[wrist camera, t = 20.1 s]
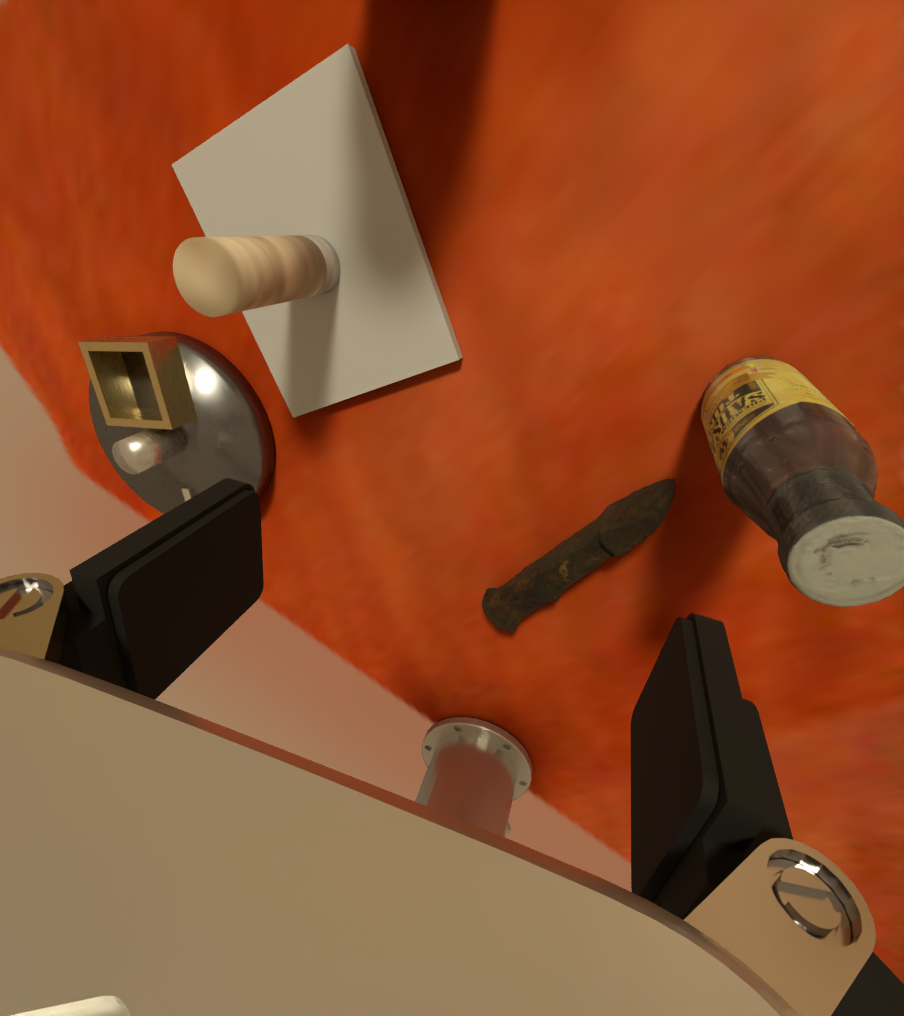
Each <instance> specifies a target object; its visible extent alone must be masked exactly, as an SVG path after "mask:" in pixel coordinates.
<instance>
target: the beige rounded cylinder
mask: <svg viewBox="0 0 904 1016" xmlns="http://www.w3.org/2000/svg"><path fill="white" fill-rule="evenodd" d="M173 273H174V278H175V282H176V285H177V287H178V290H179V291H180V293H181V295H182V297H183V298H184V300H185V301H186V302H187V303H188V304H189V305H190V306H191V307H192V308H193V309H194V310H195V311H197V312H198V313H200V314H202V315H205V316H209V317H218V316H223V315H227V314H232V313H237V312H242V311H246V310H251V309H256V308H260V307H265V306H270V305H275V304H279V303H284V302H289V301H293V300H298V299H303V298H307V297H312V296H317V295H322V294H326V293H328V292H330V291H331V290H332V289H333V288H334V287H335V286H336V284H337V283H338V280H339V277H340V261H339V258H338V255H337V253H336V251H335V249H334V248H333V246H332V245H331V244H330V243H329V242H328V241H327V240H326V239H324V238H322V237H320V236H316V235H289V236H240V237H194V238H189V239H187V240H185V241H183V242H182V243H181V244H180V245H179V247H178V248H177V250H176V252H175V255H174V260H173Z"/></svg>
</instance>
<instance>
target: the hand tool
mask: <svg viewBox="0 0 904 1016" xmlns="http://www.w3.org/2000/svg"><path fill="white" fill-rule="evenodd" d="M674 493H675V482H674V479H666V480H662V481H659V482H656V483H653V484H651V485H649V486H646V487H644V488H642V489H640V490H637V491H635V492H633V493H631V494H630V495H629V496H627V497H625V498H623V499H621V500H619V501H617V502H615V503H613V504H611V505H609V506H608V507H607V508H606V509H605V510H604V512H603V513H602V514H601V515H600V516H599V517H598V518H597V519H596V520H594V521H593V522H591V523H590V524H589V525H587V526H586V527H584V528H583V529H581V530H580V531H578V532H577V533H575V534H574V535H572V536H571V537H570V538H568V539H567V540H564V541H563V542H561V543H560V544H558V545H557V546H556V547H555V548H554V549H553V550H552V551H550V552H549V553H547V554H546V555H544V556H543V557H541V558H540V559H538V560H536V561H535V562H534V563H532V564H530V565H529V566H527V567H526V568H524V569H523V570H522V571H521V572H520V573H519V574H517V575H516V576H515V577H514V578H512V579H511V580H510V581H508V582H507V583H506V584H504V585H503V586H501V587H500V588H498V589H496V588H489V589H486V593H485V594H484V597H483V600H482V607H483V610H484V613H485V614H486V615H487V617H488V618H489V619H490V620H491V621H492V622H493V623H494V625H495V627H497V628H499V629H502V630H505V631H508V632H510V633H513V632H514V631H515V630H516V628H517V626H518V625H519V623H520V621H521V620H522V619H523V618H524V617H526V616H527V615H529V614H530V613H532V612H533V611H534V610H536V609H537V608H539V607H540V606H542V605H545V604H548V603H549V602H551V601H557V600H558V599H559V598H560V596H561V594H562V592H563V591H564V590H565V589H567V588H568V587H569V586H571V585H572V584H574V583H575V582H577V581H578V580H580V579H581V578H583V577H584V576H585V575H587V574H588V573H590V572H591V571H593V570H594V569H595V568H597V567H598V566H599V565H601V564H602V563H603V562H605V561H606V560H608V559H609V558H611V557H612V556H614V555H615V556H617V557H620V556H622V555H624V554H625V553H626V552H628V551H630V550H631V549H632V548H633V547H634V546H635V545H636V544H638V543H640V542H643V541H644V540H645V539H646V538H647V537H648V536H650V535H651V534H652V533H653V532H654V531H655V530H656V529H657V528H658V527H659V526H660V524H661V522H662V520H663V519H664V517H665V516H666V515H667V513H668V510H669V507H670V505H671V502H672V500H673V497H674Z"/></svg>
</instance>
